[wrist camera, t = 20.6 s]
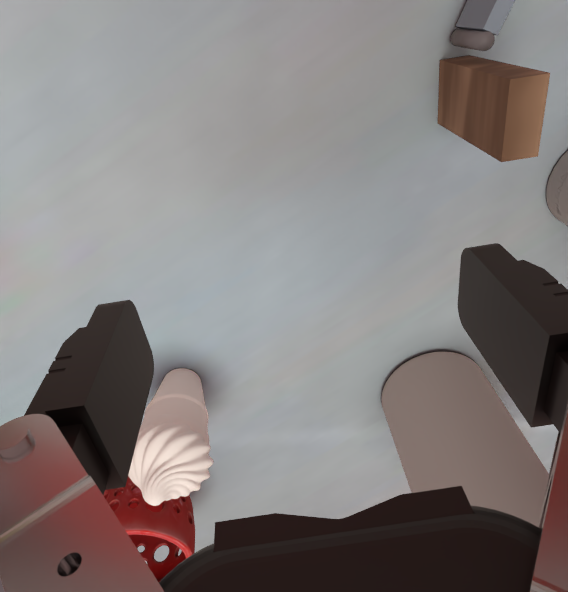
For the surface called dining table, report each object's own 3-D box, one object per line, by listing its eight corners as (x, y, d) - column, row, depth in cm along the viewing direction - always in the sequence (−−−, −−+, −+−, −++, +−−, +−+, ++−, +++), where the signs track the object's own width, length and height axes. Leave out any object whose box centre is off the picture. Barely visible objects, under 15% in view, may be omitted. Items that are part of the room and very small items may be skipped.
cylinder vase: (501, 381, 58) (650, 599, 37) (424, 438, 62) (516, 662, 41) (438, 330, 53) (567, 547, 32) (358, 395, 57) (425, 624, 36)
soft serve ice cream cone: (233, 375, 54) (229, 498, 41) (193, 418, 57) (177, 545, 44) (169, 341, 51) (142, 462, 38) (131, 389, 54) (93, 516, 41)
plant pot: (106, 507, 65) (81, 599, 55) (93, 441, 58) (61, 533, 48) (202, 505, 66) (194, 595, 56) (200, 440, 60) (190, 529, 49)
